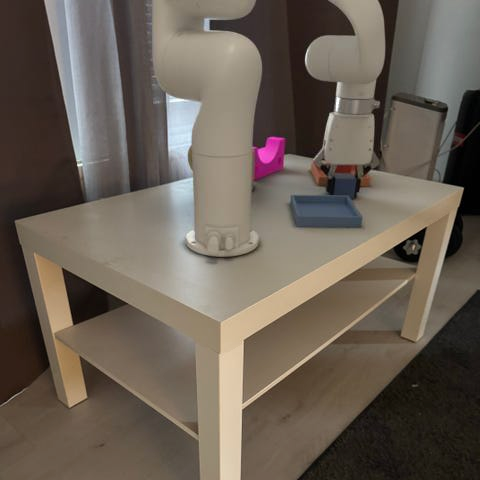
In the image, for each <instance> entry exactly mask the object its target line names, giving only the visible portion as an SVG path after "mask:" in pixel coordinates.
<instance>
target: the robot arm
mask: <svg viewBox="0 0 480 480" xmlns="http://www.w3.org/2000/svg"><path fill="white" fill-rule="evenodd" d="M327 1H328V2H330V3H332V4H333V5H334V6H335V7H337V8H338V9H339V10H340V11H341V12H342V13H343V14H344V15H345V16H346V18H347V20H349V22H350V23H351V26H352V28H353V31H354V34H355V35H335V34H333V35H332V34H331V35H330V34H329V35H321V36H319V37H317V38H315V39H314V40H313V41H312V42H311V43H310V44H309V46H308V48H307V50H306V52H305V57H304V64H305V68H306V71H307V72H308V74H309V75H310V76H311V77H312V78H314V79H316V80H318V81H322V82H331V83H336V90H335V99H334V107H333V111H332V112H329V116H328V117H327V122H326V125H325V131H324V136H323V141H322V143H323V144H322V148H321V149H320V150H319V151H318V153H317V154H316V155H315V157H313V158H312V163H314V164H315V165H316V166H317V167H318V168H320V169H321V170H322V171H323V173H324V174H325V175H326V176H327V181H326V186H325V193H327V195H333V192H334V183H335V179H334V173H335V170H336V167H337V165H355V175H354V176H355V178H356V179H357V180H356V187H355V194H354V198H357V197H358V193H360V190H361V186H360V184H361V179H363V177H364V176H365V175H366V174H369V173H370V172H371V171H372V170H374V169H375V168H376V167H378V166H379V165H380V164H381V162H380V159H379V158H378V156H377V154H376V152H375V151H374V145H375V144H374V143H375V142H374V141H375V115H374V113H373V112H374V110H376V109H379V108H380V106H381V102H380V100H376V99H375V93H376V91H375V90H376V84H377V79H378V77H379V76H380V75H381V73H382V70H383V68H384V65H385V58H386V32H385V19H384V18H385V17H384V13H383V10H382V9H383V8H382V5H381V4H380V2H379V0H327ZM256 2H257V0H151V5H152V6H151V30H152V31H151V43H152V44H151V45H152V46H151V52H152V55H151V56H152V67H153V72H154V76H155V79H156V81H157V83H158V85H159V87H160V89H162V91H163V92H164V93H166V94H167V95H169V96H170V97H173V98H176V99H179V100H184V101H190V102H197V103H200V107H199V109H198V112H197V115H196V117H195V119H194V121H193V125H192V130H191V145H192V164H193V171H192V189H193V190H192V192H193V193H192V194H193V218H194V220H193V221H194V228H193V229H191V230H189V232H187V233H186V236H185V244H186V246H187V247H188V248H189V250H191V251H192V252H195V253H197V254H200V255H204V256H209V257H218V258H221V257H222V258H227V257H228V258H229V257H236V256H242V255H246V254H248V253H250V252H252V251H254V250H255V249H256V248H257V247H258V246H259V244H260V243H259V242H260V237H259V234H258V233H257V232H256V231H254V230H253V229H252V228H251V217H252V216H251V214H252V213H251V212H252V190H251V184H252V147H254V145H253V143H254V142H253V140H254V124H255V113H256V106H257V102H258V97H259V91H260V88H261V83H262V76H263V62H262V57H261V54H260V52H259V50H258V48H257V46H256V44H255V43H254V42H253V41H252V40H251V39H249V38H248V37H247V36H245V35H243V34H241V33H237V32H235V31H228V30H212V29H210V30H208V29H205V21H206V20H207V21H208V20H211V21H212V20H214V21H215V20H216V21H218V20H219V21H229V20H231V21H232V20H237V19H241V18H243V17H246V16H247V15H248V14H250V13H251V12H252V10H253V9H254V7H255V5H256ZM323 159H324V162H323ZM323 163H328V167H327V166H326V165H325V164H323Z"/></svg>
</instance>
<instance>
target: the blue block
mask: <svg viewBox="0 0 480 480" xmlns="http://www.w3.org/2000/svg"><path fill="white" fill-rule="evenodd" d="M334 179H335V183H334V192H333V195H342V196H349V197H350V199H351V200H354V199H355V197H354V194H355V187H356V180H357V179H356V178H355V176H354V175H353V174H352V173H334Z"/></svg>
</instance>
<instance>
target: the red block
mask: <svg viewBox="0 0 480 480" xmlns="http://www.w3.org/2000/svg"><path fill="white" fill-rule="evenodd" d="M351 168H352V165H337V167H336V170H335V173H351Z"/></svg>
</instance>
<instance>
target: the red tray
mask: <svg viewBox="0 0 480 480" xmlns="http://www.w3.org/2000/svg"><path fill="white" fill-rule="evenodd" d="M322 163H323V164H325V165H326V166H327V167H328V163H326V162H322ZM310 172H311V174H312V176H313V179H314V180H315V182H316V184H317V186H321V187H323V186H324V187H326V181H327V176H326V175H325V174H324V173H323V171H322V170H321V169H320V168H318V167H317V166H316V165H315V164H314V163H313V162H311V165H310ZM351 173H352V174H353V175H355V165H352V168H351ZM370 183H371V177H370V175H369V173H367V174H366V175H365V176H364V177H363V179H361V184H360V187H370Z"/></svg>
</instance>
